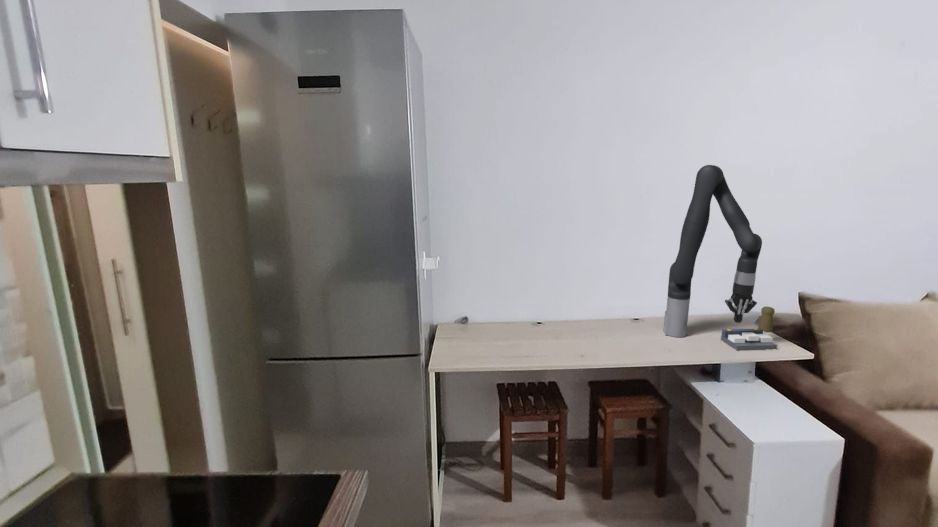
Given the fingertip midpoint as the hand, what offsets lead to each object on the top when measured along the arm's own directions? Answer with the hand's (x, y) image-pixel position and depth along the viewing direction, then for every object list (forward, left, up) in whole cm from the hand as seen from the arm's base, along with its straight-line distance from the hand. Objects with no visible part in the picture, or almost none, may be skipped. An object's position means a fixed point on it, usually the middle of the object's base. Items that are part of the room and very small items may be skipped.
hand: (737, 322), depth 209 cm
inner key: (0, 0, -9) cm, 8 cm away
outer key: (+12, +3, -8) cm, 15 cm away
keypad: (+6, +3, -11) cm, 13 cm away
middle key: (+6, +2, -8) cm, 10 cm away
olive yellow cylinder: (+20, +24, -11) cm, 33 cm away
